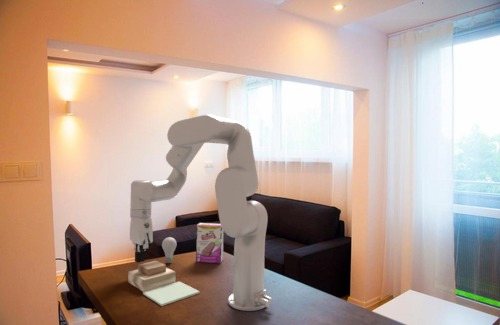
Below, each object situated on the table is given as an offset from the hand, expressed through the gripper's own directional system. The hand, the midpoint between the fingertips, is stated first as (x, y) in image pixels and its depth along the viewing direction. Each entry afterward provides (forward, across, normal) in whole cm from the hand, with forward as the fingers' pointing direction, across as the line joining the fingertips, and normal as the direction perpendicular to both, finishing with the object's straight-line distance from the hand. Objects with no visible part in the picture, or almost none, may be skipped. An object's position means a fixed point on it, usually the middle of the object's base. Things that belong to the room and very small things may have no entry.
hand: (139, 261), depth 122 cm
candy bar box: (+6, -4, -30) cm, 31 cm away
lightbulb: (+6, +6, -16) cm, 18 cm away
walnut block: (0, -9, 0) cm, 9 cm away
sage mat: (+5, -22, 0) cm, 23 cm away
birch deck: (+5, -9, 0) cm, 11 cm away
